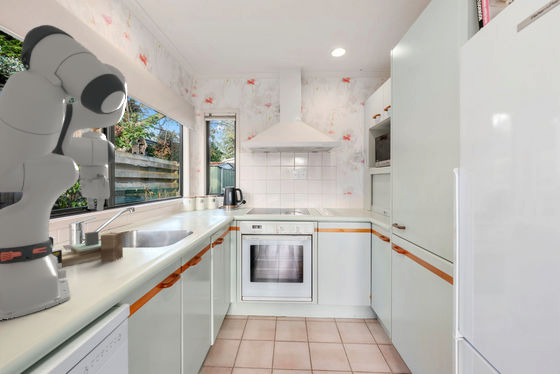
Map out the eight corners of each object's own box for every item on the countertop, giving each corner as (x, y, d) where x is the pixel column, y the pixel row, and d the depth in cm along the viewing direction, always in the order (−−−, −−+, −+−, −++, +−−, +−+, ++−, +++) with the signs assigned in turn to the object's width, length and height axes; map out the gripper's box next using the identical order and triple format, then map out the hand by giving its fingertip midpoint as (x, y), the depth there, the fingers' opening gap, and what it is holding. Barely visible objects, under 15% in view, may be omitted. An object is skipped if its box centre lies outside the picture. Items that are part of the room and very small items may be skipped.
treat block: (113, 261, 97) (112, 235, 97) (101, 260, 97) (100, 235, 97) (122, 257, 102) (122, 232, 101) (111, 256, 102) (110, 232, 102)
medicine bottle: (39, 275, 84) (38, 239, 83) (24, 273, 85) (22, 238, 85) (62, 268, 90) (61, 235, 90) (48, 266, 92) (47, 234, 92)
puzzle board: (113, 255, 104) (113, 246, 104) (56, 268, 89) (55, 256, 89) (102, 250, 111) (102, 241, 111) (47, 261, 97) (47, 251, 96)
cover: (112, 245, 104) (112, 231, 104) (79, 251, 95) (79, 236, 95) (102, 241, 111) (102, 228, 110) (71, 247, 102) (70, 233, 102)
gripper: (114, 174, 95) (115, 210, 95) (95, 174, 107) (96, 207, 107) (94, 174, 90) (95, 212, 90) (76, 174, 102) (77, 208, 102)
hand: (95, 209), depth 99 cm, fingers open, 8 cm apart
